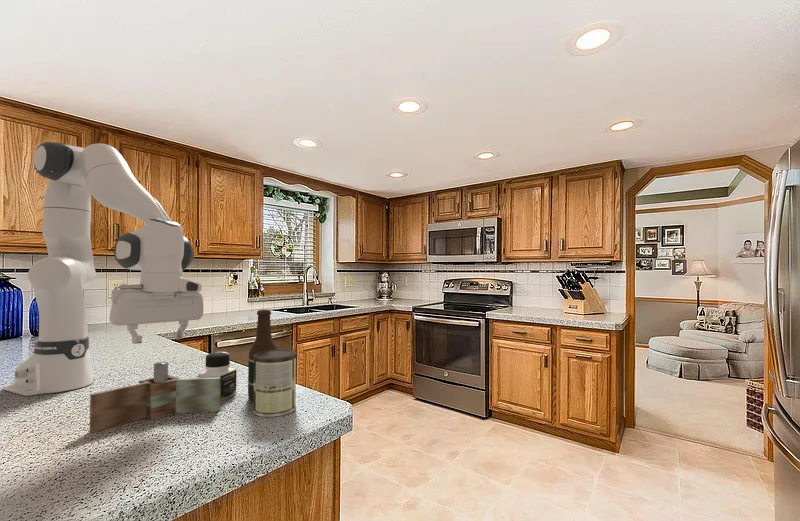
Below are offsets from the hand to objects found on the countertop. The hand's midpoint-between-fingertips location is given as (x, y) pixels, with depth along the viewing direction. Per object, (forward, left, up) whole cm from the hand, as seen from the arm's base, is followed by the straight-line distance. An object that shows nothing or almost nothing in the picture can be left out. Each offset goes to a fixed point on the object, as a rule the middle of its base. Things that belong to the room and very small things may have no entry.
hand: (158, 341), depth 96 cm
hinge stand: (+3, -3, -17) cm, 18 cm away
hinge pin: (+1, +1, -18) cm, 18 cm away
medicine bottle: (+5, +14, -18) cm, 24 cm away
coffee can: (+26, +9, -18) cm, 33 cm away
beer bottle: (+18, +16, -18) cm, 30 cm away
